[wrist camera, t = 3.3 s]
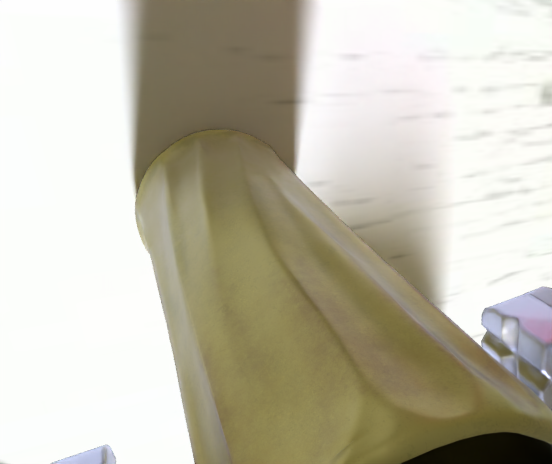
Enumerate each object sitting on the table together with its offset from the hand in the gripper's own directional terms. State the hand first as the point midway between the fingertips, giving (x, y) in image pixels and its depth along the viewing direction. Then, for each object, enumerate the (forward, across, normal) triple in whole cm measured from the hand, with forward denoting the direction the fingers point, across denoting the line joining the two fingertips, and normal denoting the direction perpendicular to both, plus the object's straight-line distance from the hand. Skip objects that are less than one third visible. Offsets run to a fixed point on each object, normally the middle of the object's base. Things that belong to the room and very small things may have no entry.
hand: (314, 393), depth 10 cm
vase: (+10, 0, -1) cm, 10 cm away
